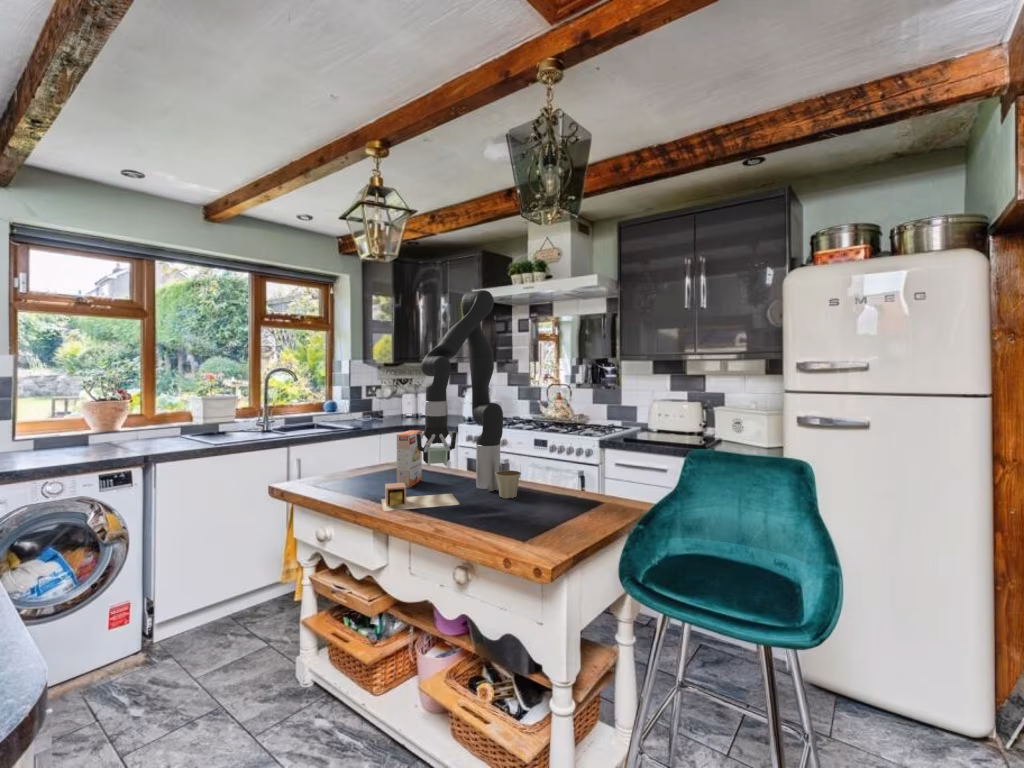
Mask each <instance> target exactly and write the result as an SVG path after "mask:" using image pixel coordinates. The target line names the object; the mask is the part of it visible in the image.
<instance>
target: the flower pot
mask: <svg viewBox="0 0 1024 768" xmlns="http://www.w3.org/2000/svg"><path fill="white" fill-rule="evenodd" d="M495 474H496V477H497V480H498V488H499V490H498V495H499V497H500V498H501V497H502V498H501V499H515V498H516V497H517V493H518V488H519V481H520V478H521V475H522V472H520V471H517V470H509V469H508V470H502V471H498V472H496V473H495ZM514 497H515V498H514Z"/></svg>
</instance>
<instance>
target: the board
mask: <svg viewBox="0 0 1024 768" xmlns="http://www.w3.org/2000/svg"><path fill="white" fill-rule="evenodd" d="M380 502H381V505H382V511H383V512H388V511H390V512H391V511H401V510H411V509H412V510H413V509H426V508H436V507H437V508H439V507H448V506H449V507H450V506H459V505H460V502H459V500H457V498H456V497H455V495H454V494H453V493H440V494H428V495H417V496H406V505H405V504H404V502H403V500H402V504H398V505H390V503H389V501H388V506H386V502H385V498H380Z"/></svg>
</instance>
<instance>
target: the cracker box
mask: <svg viewBox="0 0 1024 768" xmlns="http://www.w3.org/2000/svg"><path fill="white" fill-rule="evenodd" d="M416 433H423V430H420V429H418V430H414V429H412V430H411V429H409V430H407V431H403V432H401V433H398V434H396V483H404V484H405V486H406V489H407V488H410V487H411V488H413V487H414V486H415V484H416V483H417V482H419V481H420V480H421V479H422V480H423V478H422V466H423V465H422V463H423V461H422V460H423V451H419V450H418V448H417V439H416ZM422 441H423V438H422V439H421V445H423V443H422ZM422 480H421V481H422ZM421 481H420V482H421ZM420 482H419V483H420ZM417 484H418V483H417ZM417 484H416V485H417ZM413 485H414V486H413ZM412 486H413V487H412Z"/></svg>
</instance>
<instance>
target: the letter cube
mask: <svg viewBox="0 0 1024 768" xmlns="http://www.w3.org/2000/svg"><path fill="white" fill-rule="evenodd" d="M389 503H390V505H398V504H402V491H401V490H389Z"/></svg>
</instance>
